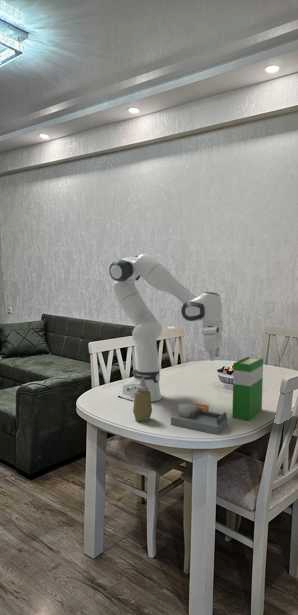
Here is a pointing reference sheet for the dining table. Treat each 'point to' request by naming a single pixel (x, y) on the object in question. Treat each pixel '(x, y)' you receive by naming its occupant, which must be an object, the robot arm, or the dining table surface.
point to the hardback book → (247, 388)
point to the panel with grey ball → (199, 419)
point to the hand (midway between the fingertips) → (214, 358)
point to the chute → (201, 406)
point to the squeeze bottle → (142, 402)
